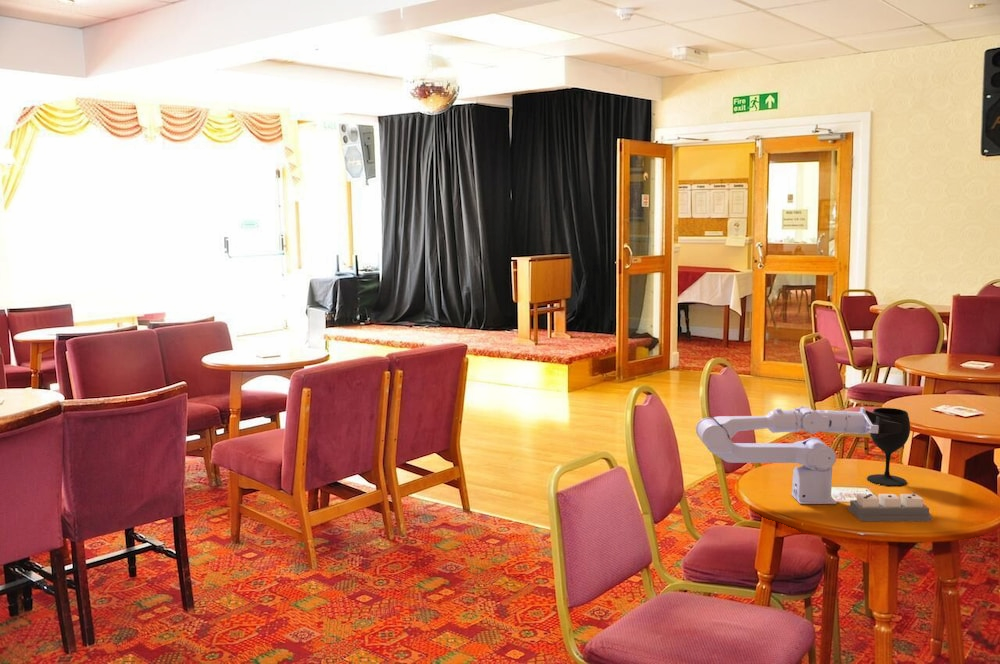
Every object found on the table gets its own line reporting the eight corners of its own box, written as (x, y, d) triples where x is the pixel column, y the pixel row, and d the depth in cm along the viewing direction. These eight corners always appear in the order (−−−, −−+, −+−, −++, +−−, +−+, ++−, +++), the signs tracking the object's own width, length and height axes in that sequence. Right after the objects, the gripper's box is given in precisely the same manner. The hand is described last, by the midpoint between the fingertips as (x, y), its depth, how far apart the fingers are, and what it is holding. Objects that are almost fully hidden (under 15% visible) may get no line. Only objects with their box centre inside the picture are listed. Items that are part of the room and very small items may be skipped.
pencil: (909, 495, 240) (928, 519, 222) (912, 491, 240) (931, 515, 222) (913, 496, 240) (932, 521, 222) (915, 493, 240) (934, 517, 221)
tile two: (906, 508, 222) (907, 498, 222) (899, 503, 226) (900, 493, 226) (922, 508, 222) (923, 498, 222) (915, 503, 226) (916, 493, 226)
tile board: (861, 521, 220) (862, 510, 220) (847, 509, 229) (848, 498, 229) (931, 521, 220) (931, 510, 220) (914, 508, 229) (915, 498, 229)
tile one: (884, 508, 222) (885, 498, 222) (877, 503, 226) (878, 493, 226) (900, 508, 222) (901, 498, 222) (893, 503, 226) (894, 493, 226)
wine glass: (900, 476, 257) (904, 407, 254) (911, 487, 246) (916, 416, 244) (862, 474, 258) (866, 406, 255) (872, 486, 248) (875, 415, 245)
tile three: (862, 508, 223) (863, 498, 222) (856, 503, 226) (856, 493, 226) (878, 508, 222) (879, 498, 222) (872, 503, 226) (872, 493, 226)
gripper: (854, 412, 226) (909, 415, 226) (834, 401, 240) (886, 403, 240) (852, 440, 227) (906, 443, 227) (832, 426, 241) (883, 429, 241)
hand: (895, 424), depth 234 cm, fingers open, 7 cm apart
